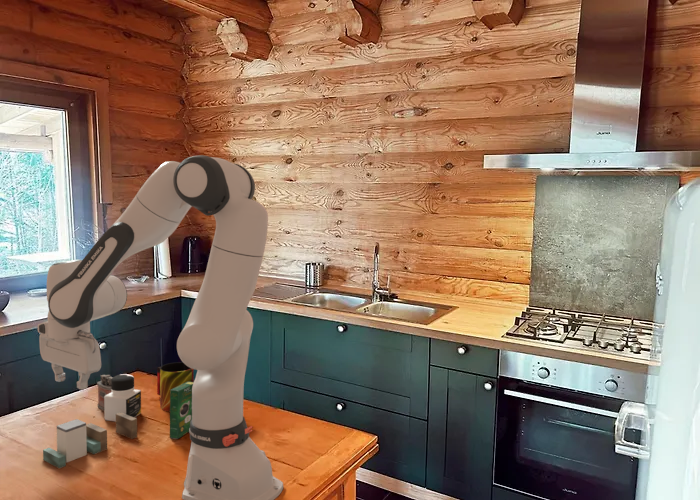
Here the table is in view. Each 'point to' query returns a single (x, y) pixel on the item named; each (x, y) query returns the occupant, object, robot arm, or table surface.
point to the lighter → (103, 389)
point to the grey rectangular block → (72, 439)
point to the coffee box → (180, 410)
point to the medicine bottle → (122, 398)
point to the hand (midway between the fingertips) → (71, 384)
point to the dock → (96, 439)
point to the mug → (171, 380)
